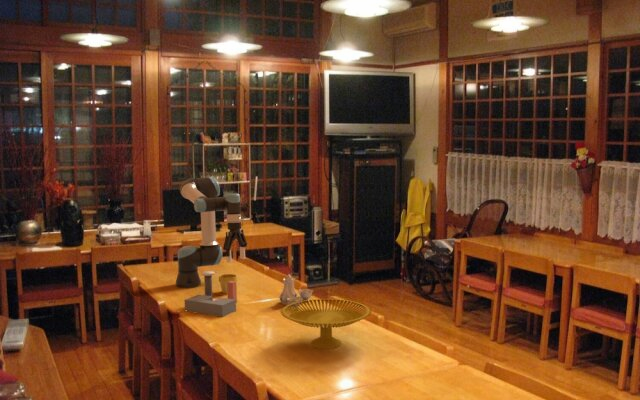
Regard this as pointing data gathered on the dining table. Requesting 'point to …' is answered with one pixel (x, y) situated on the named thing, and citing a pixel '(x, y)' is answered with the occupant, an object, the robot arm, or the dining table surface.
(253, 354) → the dining table surface
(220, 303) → the notched board
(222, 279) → the plant pot
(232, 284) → the tab
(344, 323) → the pedestal fruit bowl
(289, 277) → the chinaware
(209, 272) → the bobbin
